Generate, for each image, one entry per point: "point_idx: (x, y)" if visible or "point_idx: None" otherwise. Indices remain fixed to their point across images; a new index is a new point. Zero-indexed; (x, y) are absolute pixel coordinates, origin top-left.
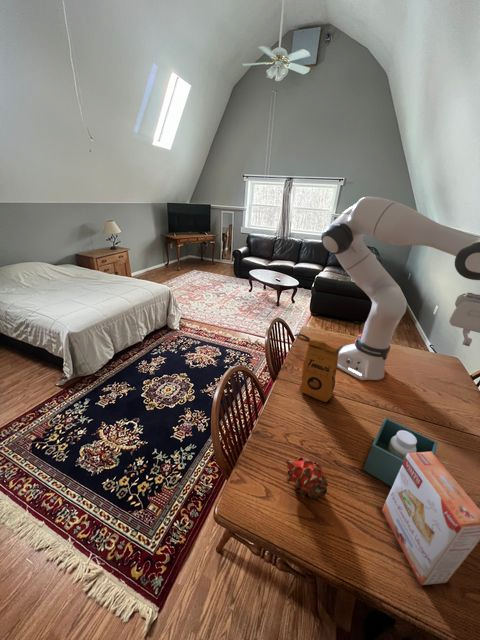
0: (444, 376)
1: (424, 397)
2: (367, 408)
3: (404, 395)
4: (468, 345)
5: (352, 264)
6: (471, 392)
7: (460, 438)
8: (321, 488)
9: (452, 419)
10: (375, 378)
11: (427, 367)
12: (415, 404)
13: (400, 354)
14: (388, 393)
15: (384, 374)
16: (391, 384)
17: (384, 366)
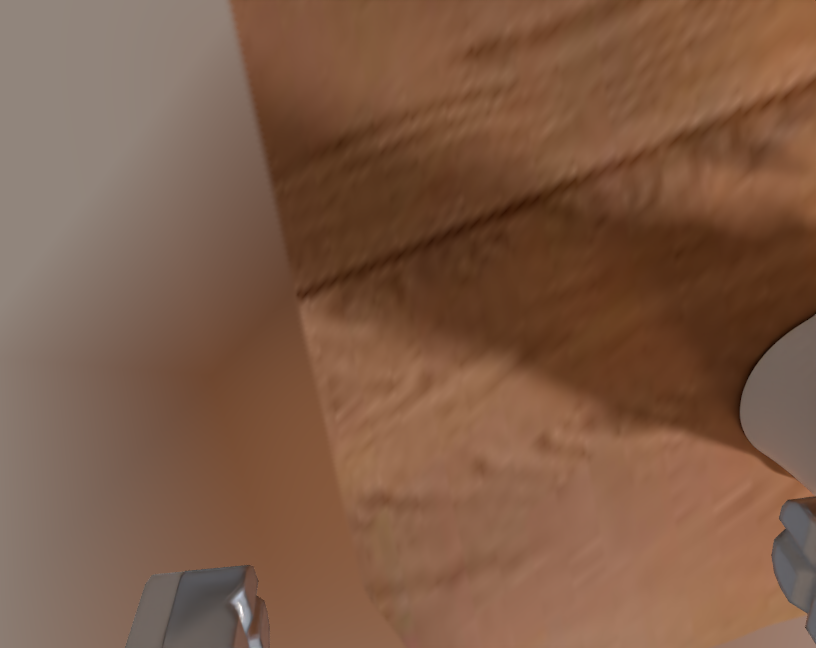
0: (486, 604)
1: (533, 392)
2: (784, 54)
3: (620, 333)
4: (813, 501)
5: None
6: (371, 576)
7: (337, 220)
8: None
9: (395, 331)
10: (785, 345)
11: (561, 616)
12: (560, 305)
13: (688, 626)
14: (696, 284)
15: (742, 417)
16: (693, 370)
17: (785, 441)
